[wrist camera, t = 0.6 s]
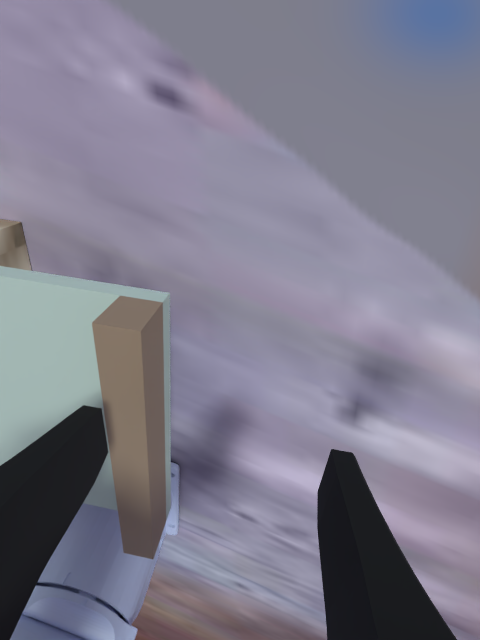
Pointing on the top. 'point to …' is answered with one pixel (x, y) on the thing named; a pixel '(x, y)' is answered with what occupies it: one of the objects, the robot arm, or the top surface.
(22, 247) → the box
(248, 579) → the top surface
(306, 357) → the top surface
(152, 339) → the lid
